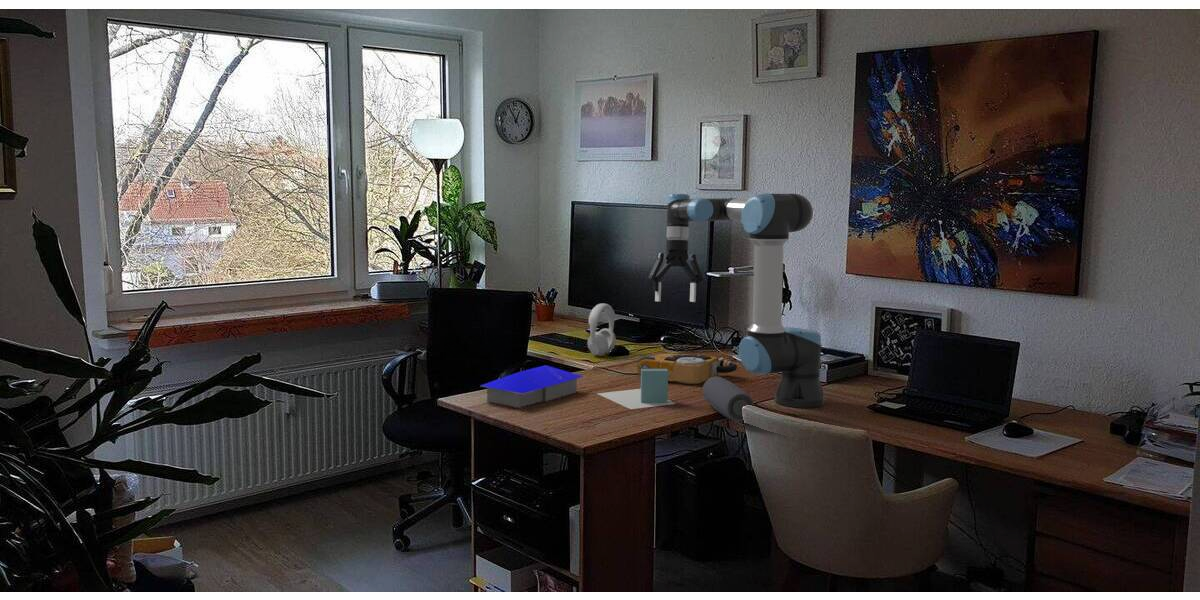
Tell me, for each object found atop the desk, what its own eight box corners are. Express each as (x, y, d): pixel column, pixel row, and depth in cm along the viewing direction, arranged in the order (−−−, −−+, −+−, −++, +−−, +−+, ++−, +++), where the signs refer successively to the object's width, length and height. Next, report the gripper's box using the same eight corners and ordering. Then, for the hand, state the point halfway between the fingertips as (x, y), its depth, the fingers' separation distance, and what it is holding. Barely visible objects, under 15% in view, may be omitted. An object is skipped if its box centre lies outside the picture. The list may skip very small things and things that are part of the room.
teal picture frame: (666, 400, 303) (666, 368, 301) (667, 402, 300) (668, 370, 298) (640, 400, 302) (641, 368, 301) (641, 402, 299) (641, 370, 298)
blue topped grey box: (522, 411, 291) (522, 380, 290) (480, 402, 301) (479, 372, 300) (583, 392, 315) (583, 364, 314) (541, 385, 325) (541, 357, 324)
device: (662, 345, 353) (741, 354, 339) (662, 368, 354) (740, 377, 340) (634, 356, 333) (716, 365, 319) (634, 380, 334) (715, 390, 320)
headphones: (602, 350, 386) (602, 300, 384) (620, 351, 383) (620, 301, 380) (582, 358, 370) (582, 306, 367) (601, 360, 367) (601, 307, 364)
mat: (676, 405, 299) (676, 403, 299) (630, 411, 292) (630, 409, 291) (640, 390, 318) (640, 388, 318) (596, 395, 311) (596, 393, 311)
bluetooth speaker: (756, 425, 277) (757, 391, 276) (725, 427, 275) (725, 392, 274) (729, 406, 299) (730, 374, 298) (700, 407, 297) (700, 375, 296)
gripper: (703, 240, 342) (701, 301, 343) (639, 238, 332) (637, 300, 332) (714, 240, 335) (712, 302, 336) (650, 237, 325) (648, 301, 326)
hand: (675, 301), depth 334 cm, fingers open, 13 cm apart
